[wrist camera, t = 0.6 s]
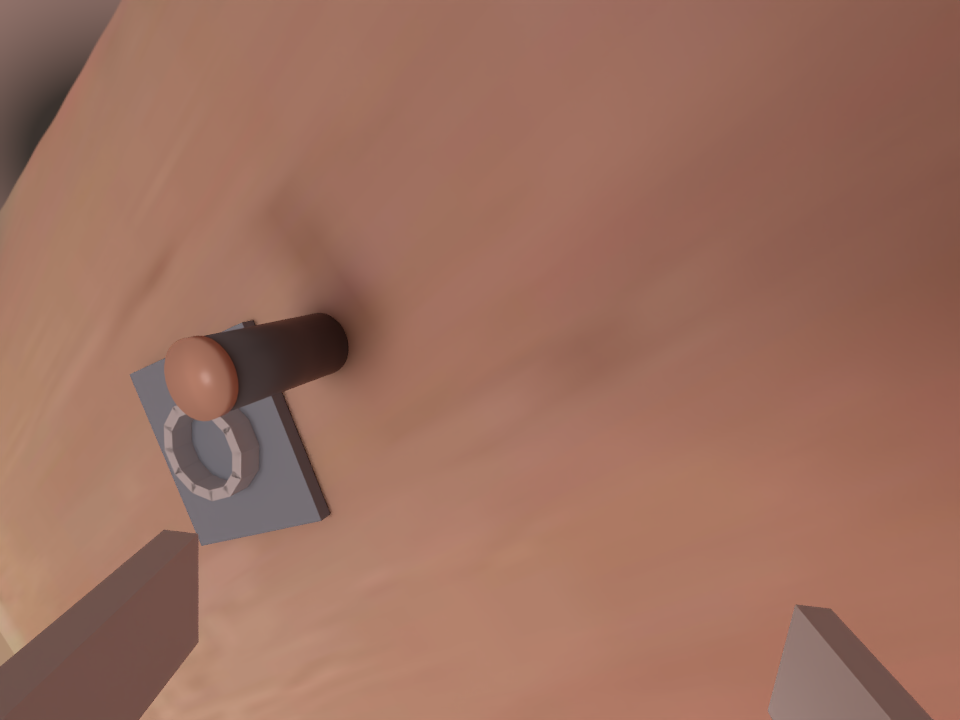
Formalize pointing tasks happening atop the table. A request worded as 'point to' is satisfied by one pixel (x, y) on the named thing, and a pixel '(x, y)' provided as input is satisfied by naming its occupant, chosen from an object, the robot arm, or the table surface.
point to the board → (272, 482)
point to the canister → (251, 363)
